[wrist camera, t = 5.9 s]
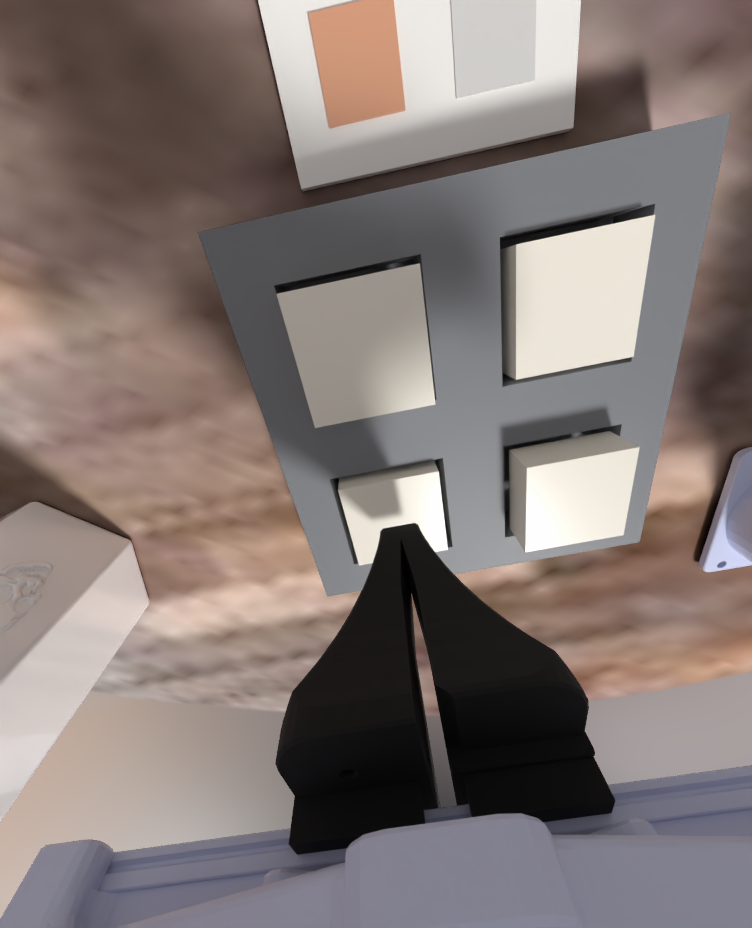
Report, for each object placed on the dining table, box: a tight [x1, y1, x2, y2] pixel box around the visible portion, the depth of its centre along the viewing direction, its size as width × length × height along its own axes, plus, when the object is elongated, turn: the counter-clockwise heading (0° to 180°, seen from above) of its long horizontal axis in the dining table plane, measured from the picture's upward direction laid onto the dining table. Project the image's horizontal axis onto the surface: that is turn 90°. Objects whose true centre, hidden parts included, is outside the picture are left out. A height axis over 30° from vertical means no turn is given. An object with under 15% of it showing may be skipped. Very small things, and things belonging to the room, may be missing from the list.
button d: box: [338, 460, 448, 566], centre depth 15 cm, size 4×4×2 cm
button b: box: [509, 431, 640, 552], centre depth 14 cm, size 4×4×2 cm
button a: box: [500, 215, 655, 380], centre depth 11 cm, size 4×4×2 cm
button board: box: [198, 113, 731, 596], centre depth 14 cm, size 15×15×3 cm
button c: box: [277, 263, 436, 428], centre depth 11 cm, size 4×4×2 cm
